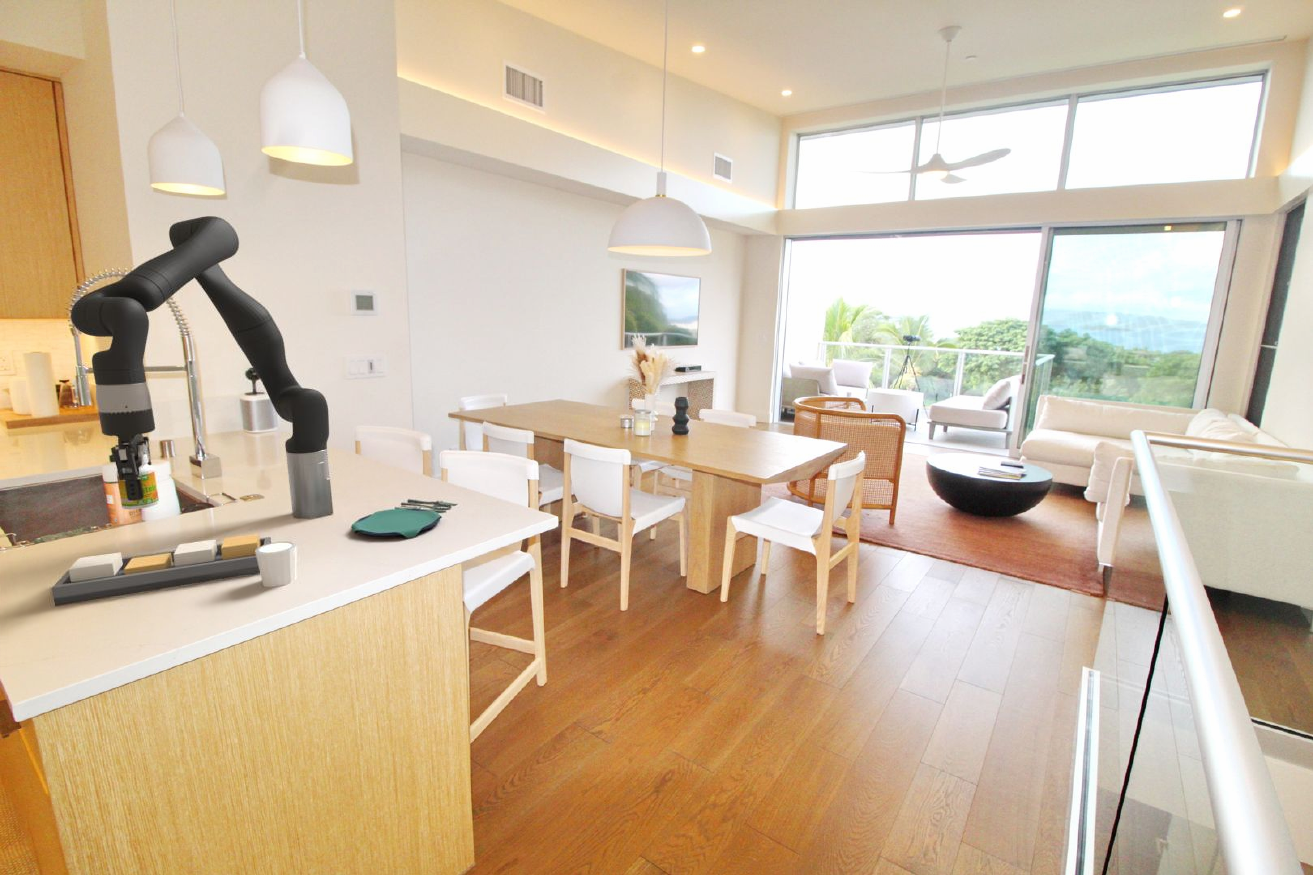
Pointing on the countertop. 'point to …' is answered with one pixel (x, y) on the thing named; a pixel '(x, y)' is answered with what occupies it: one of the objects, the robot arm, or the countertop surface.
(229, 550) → the key
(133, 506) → the supplement bottle
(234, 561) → the keypad base
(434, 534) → the countertop surface
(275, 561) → the white cup
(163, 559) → the key
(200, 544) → the key
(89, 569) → the key
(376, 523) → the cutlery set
